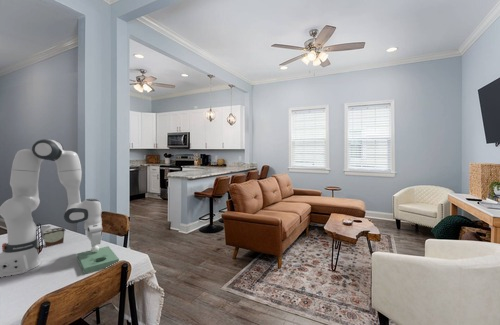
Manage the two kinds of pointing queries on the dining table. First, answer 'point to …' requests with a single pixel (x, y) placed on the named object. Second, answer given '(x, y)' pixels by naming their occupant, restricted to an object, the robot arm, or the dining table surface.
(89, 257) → the putting board
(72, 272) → the dining table surface
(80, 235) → the dining table surface
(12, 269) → the robot arm
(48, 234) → the food container
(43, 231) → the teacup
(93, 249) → the ball
